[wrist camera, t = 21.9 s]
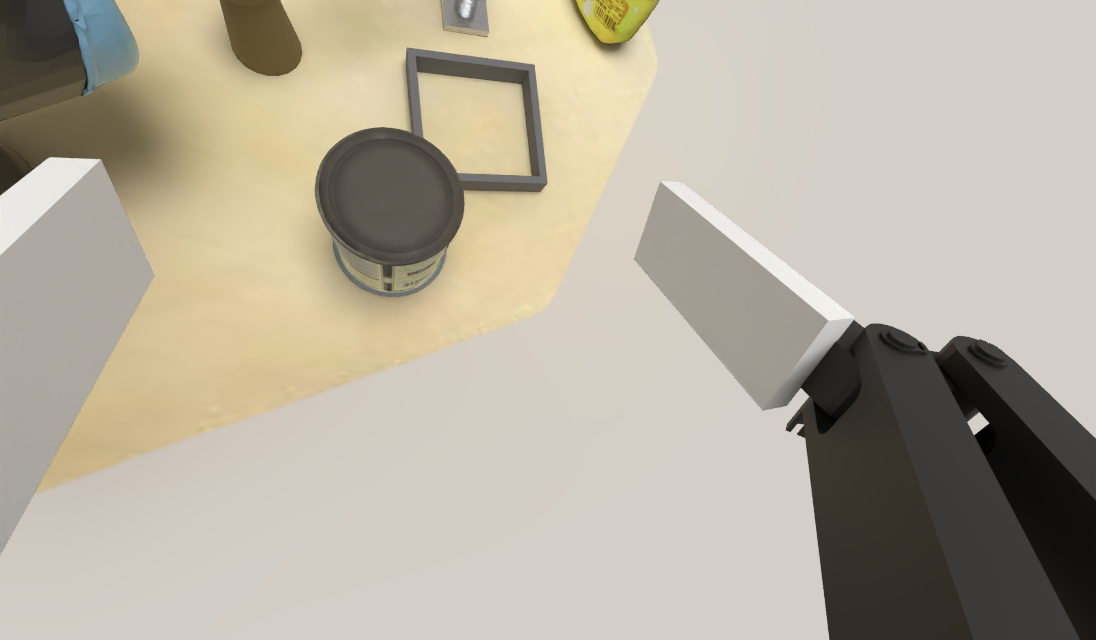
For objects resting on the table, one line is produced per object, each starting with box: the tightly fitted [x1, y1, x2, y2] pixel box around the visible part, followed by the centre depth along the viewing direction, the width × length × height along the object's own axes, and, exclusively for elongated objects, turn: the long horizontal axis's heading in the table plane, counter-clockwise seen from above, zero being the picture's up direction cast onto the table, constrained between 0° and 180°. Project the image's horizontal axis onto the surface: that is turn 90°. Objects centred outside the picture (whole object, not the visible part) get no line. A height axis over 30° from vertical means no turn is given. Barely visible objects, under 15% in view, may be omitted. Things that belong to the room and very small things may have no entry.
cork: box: [220, 0, 302, 76], centre depth 38 cm, size 6×6×11 cm
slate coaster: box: [333, 239, 446, 297], centre depth 45 cm, size 11×11×1 cm
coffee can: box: [315, 127, 464, 293], centre depth 39 cm, size 10×10×14 cm
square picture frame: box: [406, 48, 547, 192], centre depth 49 cm, size 14×14×2 cm
